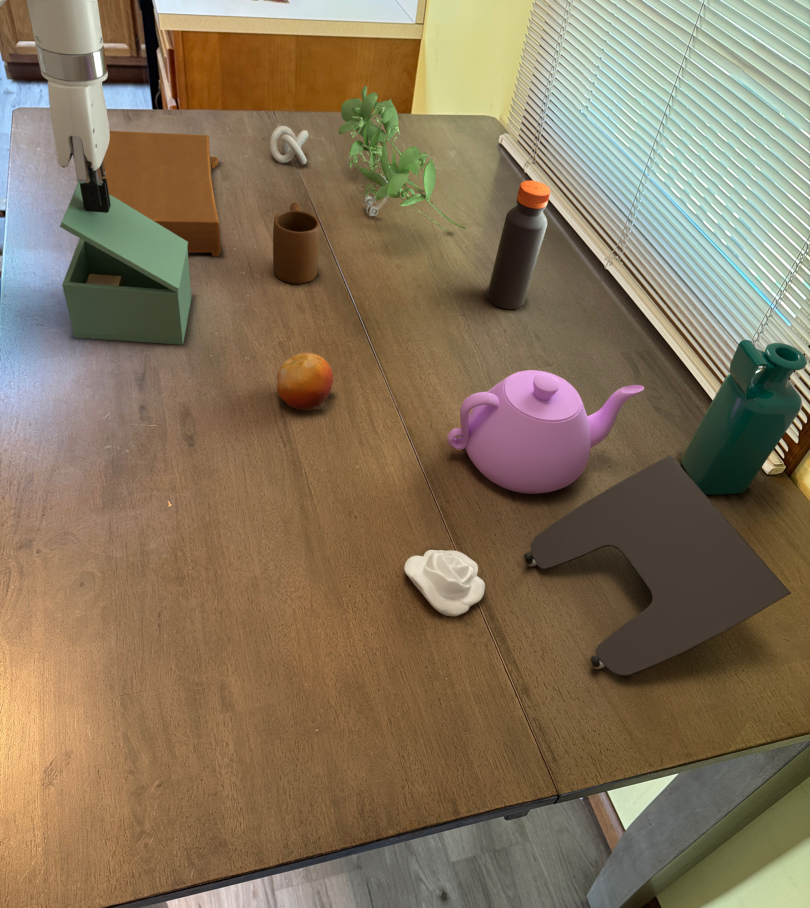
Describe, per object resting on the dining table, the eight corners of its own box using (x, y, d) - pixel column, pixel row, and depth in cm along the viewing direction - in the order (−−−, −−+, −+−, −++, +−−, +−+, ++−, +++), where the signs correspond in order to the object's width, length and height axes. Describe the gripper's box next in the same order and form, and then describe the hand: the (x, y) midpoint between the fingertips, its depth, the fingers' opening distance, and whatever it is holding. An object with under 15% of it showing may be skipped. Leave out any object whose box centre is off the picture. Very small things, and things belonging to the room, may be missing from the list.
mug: (271, 246, 137) (272, 194, 130) (314, 248, 138) (317, 197, 131) (273, 284, 129) (273, 231, 122) (318, 286, 131) (321, 234, 123)
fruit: (337, 417, 108) (311, 371, 103) (290, 428, 111) (262, 384, 106) (350, 382, 113) (325, 337, 108) (304, 394, 116) (278, 350, 111)
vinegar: (497, 312, 133) (527, 199, 118) (480, 290, 137) (506, 178, 121) (531, 307, 135) (564, 196, 120) (512, 286, 139) (542, 176, 124)
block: (89, 317, 116) (83, 290, 112) (94, 300, 119) (89, 273, 115) (120, 320, 116) (116, 293, 113) (125, 302, 119) (121, 276, 116)
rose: (398, 582, 87) (416, 521, 93) (393, 605, 90) (411, 544, 97) (483, 605, 87) (496, 542, 93) (475, 627, 90) (488, 565, 96)
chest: (74, 337, 113) (61, 284, 107) (90, 289, 121) (79, 237, 115) (183, 345, 116) (177, 293, 109) (191, 297, 124) (187, 246, 117)
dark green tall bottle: (725, 454, 117) (801, 331, 100) (750, 495, 111) (835, 373, 95) (666, 455, 115) (734, 330, 98) (689, 497, 109) (765, 373, 93)
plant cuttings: (382, 201, 167) (303, 137, 151) (436, 136, 159) (360, 62, 144) (435, 293, 146) (350, 230, 131) (500, 224, 139) (419, 148, 124)
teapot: (454, 503, 102) (475, 425, 92) (433, 414, 113) (450, 336, 103) (628, 502, 107) (667, 428, 97) (592, 416, 118) (623, 342, 108)
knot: (268, 166, 156) (268, 136, 151) (272, 148, 161) (272, 119, 156) (305, 171, 157) (306, 141, 152) (308, 153, 162) (309, 124, 157)
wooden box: (78, 219, 123) (87, 121, 144) (86, 256, 127) (93, 156, 149) (228, 222, 128) (216, 127, 149) (230, 257, 133) (218, 161, 154)
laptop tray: (521, 566, 104) (509, 534, 97) (670, 483, 104) (670, 444, 96) (614, 712, 92) (609, 688, 84) (784, 617, 91) (794, 585, 84)
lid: (59, 226, 100) (61, 222, 100) (78, 181, 108) (80, 176, 108) (176, 292, 109) (178, 288, 109) (185, 245, 117) (188, 241, 117)
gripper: (52, 34, 96) (79, 180, 110) (23, 81, 86) (57, 234, 100) (115, 41, 97) (134, 185, 111) (94, 89, 87) (117, 240, 101)
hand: (97, 208), depth 105 cm, fingers closed
